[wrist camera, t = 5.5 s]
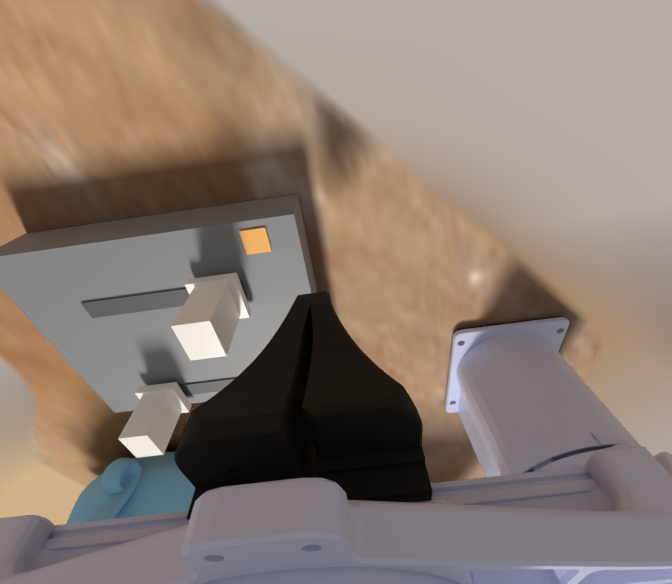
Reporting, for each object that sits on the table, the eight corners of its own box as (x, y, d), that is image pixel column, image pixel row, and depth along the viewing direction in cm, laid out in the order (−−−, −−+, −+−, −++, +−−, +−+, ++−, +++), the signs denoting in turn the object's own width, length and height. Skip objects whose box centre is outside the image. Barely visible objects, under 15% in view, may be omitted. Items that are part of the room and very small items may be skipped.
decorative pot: (220, 517, 39) (181, 694, 28) (81, 483, 32) (-44, 697, 21) (297, 463, 32) (287, 668, 21) (142, 407, 26) (7, 661, 14)
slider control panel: (330, 353, 23) (331, 387, 20) (136, 377, 23) (113, 414, 21) (297, 193, 16) (293, 215, 14) (25, 233, 17) (-27, 260, 14)
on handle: (191, 405, 20) (171, 455, 18) (156, 409, 20) (131, 460, 18) (176, 381, 19) (152, 432, 16) (138, 386, 19) (108, 437, 16)
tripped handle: (251, 311, 16) (237, 358, 13) (206, 317, 16) (183, 365, 13) (236, 272, 15) (218, 315, 12) (188, 278, 15) (158, 323, 12)
